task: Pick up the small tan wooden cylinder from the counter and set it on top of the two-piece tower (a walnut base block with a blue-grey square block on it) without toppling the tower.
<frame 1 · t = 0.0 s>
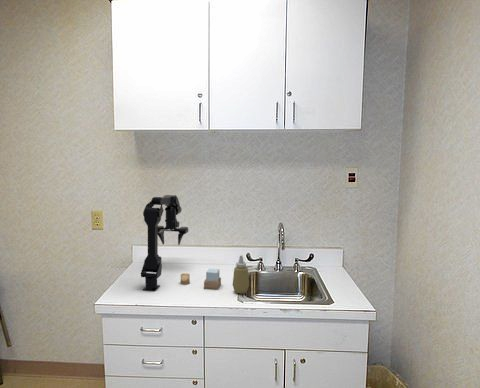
hand: (171, 244, 205), 15 cm above the counter, tool pointing down, fingers open, 9 cm apart
tan wooden cylinder: (185, 283, 187), on the counter
squeeze bottle: (240, 292, 176), on the counter
walnut base block: (212, 287, 182), on the counter, touching blue-grey square block
blue-grey square block: (212, 279, 182), point 4 cm above the counter, touching walnut base block
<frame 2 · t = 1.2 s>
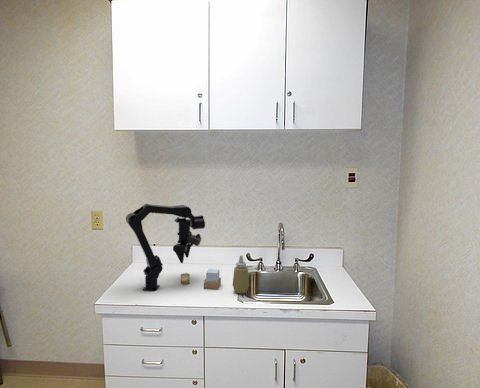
hand: (184, 260, 185), 12 cm above the counter, tool pointing down, fingers open, 9 cm apart
nothing on the counter moved.
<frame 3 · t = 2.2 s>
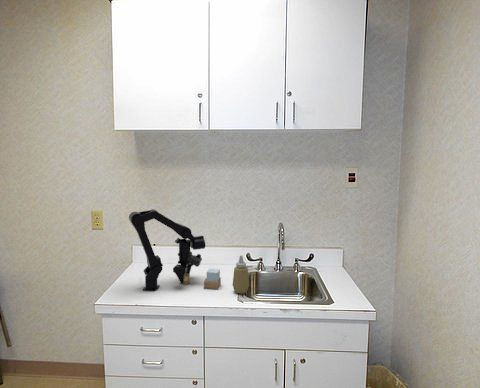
hand: (185, 280, 186), 1 cm above the counter, tool pointing down, fingers open, 9 cm apart
nothing on the counter moved.
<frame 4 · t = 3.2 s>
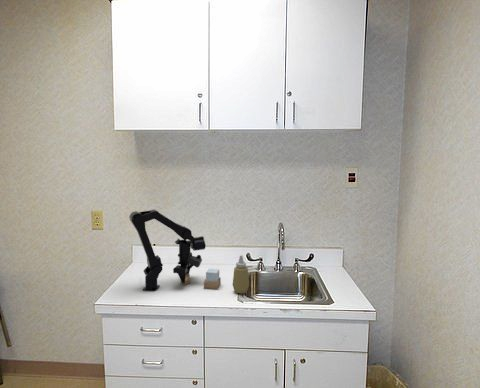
hand: (185, 281, 186), 1 cm above the counter, tool pointing down, fingers closed on tan wooden cylinder, 5 cm apart
tan wooden cylinder: (185, 283, 187), on the counter, touching gripper
everything else where it was.
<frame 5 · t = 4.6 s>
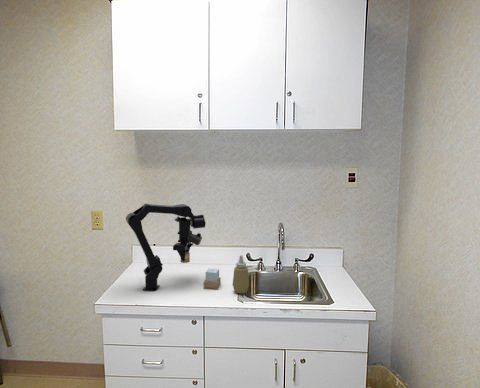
hand: (185, 259, 185), 12 cm above the counter, tool pointing down, fingers closed on tan wooden cylinder, 5 cm apart
tan wooden cylinder: (185, 261, 185), point 11 cm above the counter, touching gripper
everything else where it was.
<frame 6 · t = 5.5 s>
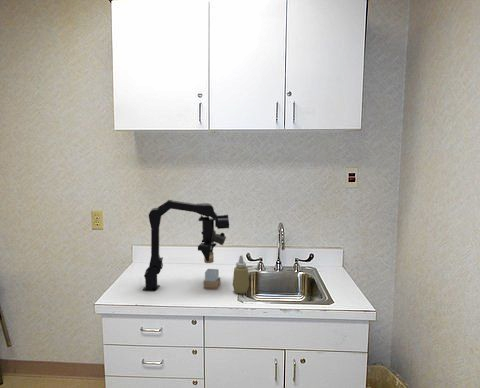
hand: (208, 259, 181), 14 cm above the counter, tool pointing down, fingers closed on tan wooden cylinder, 5 cm apart
tan wooden cylinder: (209, 261, 181), point 13 cm above the counter, touching gripper
everything else where it was.
when the fingers open (10 cm above the counter, at t = 7.0 s): tan wooden cylinder drops 1 cm, resting on blue-grey square block.
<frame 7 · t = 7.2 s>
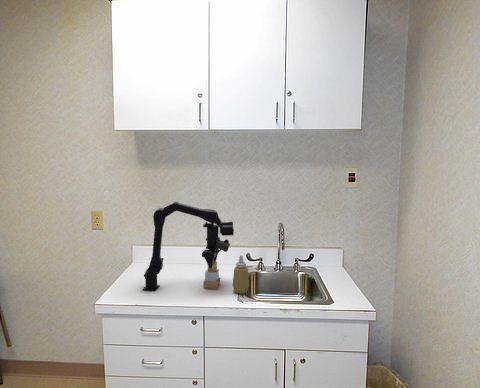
hand: (212, 266, 181), 10 cm above the counter, tool pointing down, fingers open, 7 cm apart
tan wooden cylinder: (212, 270, 181), point 8 cm above the counter, touching blue-grey square block
walnut base block: (212, 287, 182), on the counter
blue-grey square block: (212, 279, 182), point 4 cm above the counter, touching tan wooden cylinder
everything else where it was.
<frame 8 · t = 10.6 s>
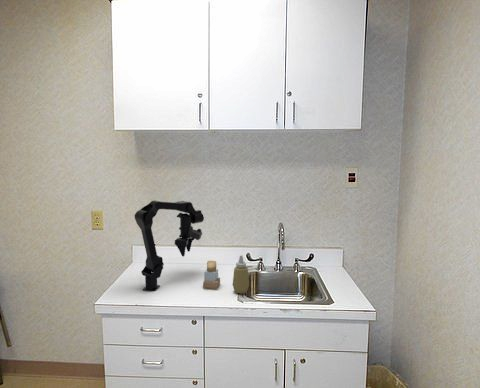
hand: (186, 253, 193), 13 cm above the counter, tool pointing down, fingers open, 9 cm apart
walnut base block: (211, 287, 182), on the counter, touching blue-grey square block
blue-grey square block: (211, 279, 182), point 4 cm above the counter, touching tan wooden cylinder, walnut base block
everything else where it was.
at the end: tan wooden cylinder 0.4 cm off-centre on the blue-grey square block, point 4.5 cm above the blue-grey square block's base; blue-grey square block tilted 0°; tan wooden cylinder tilted 0° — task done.
